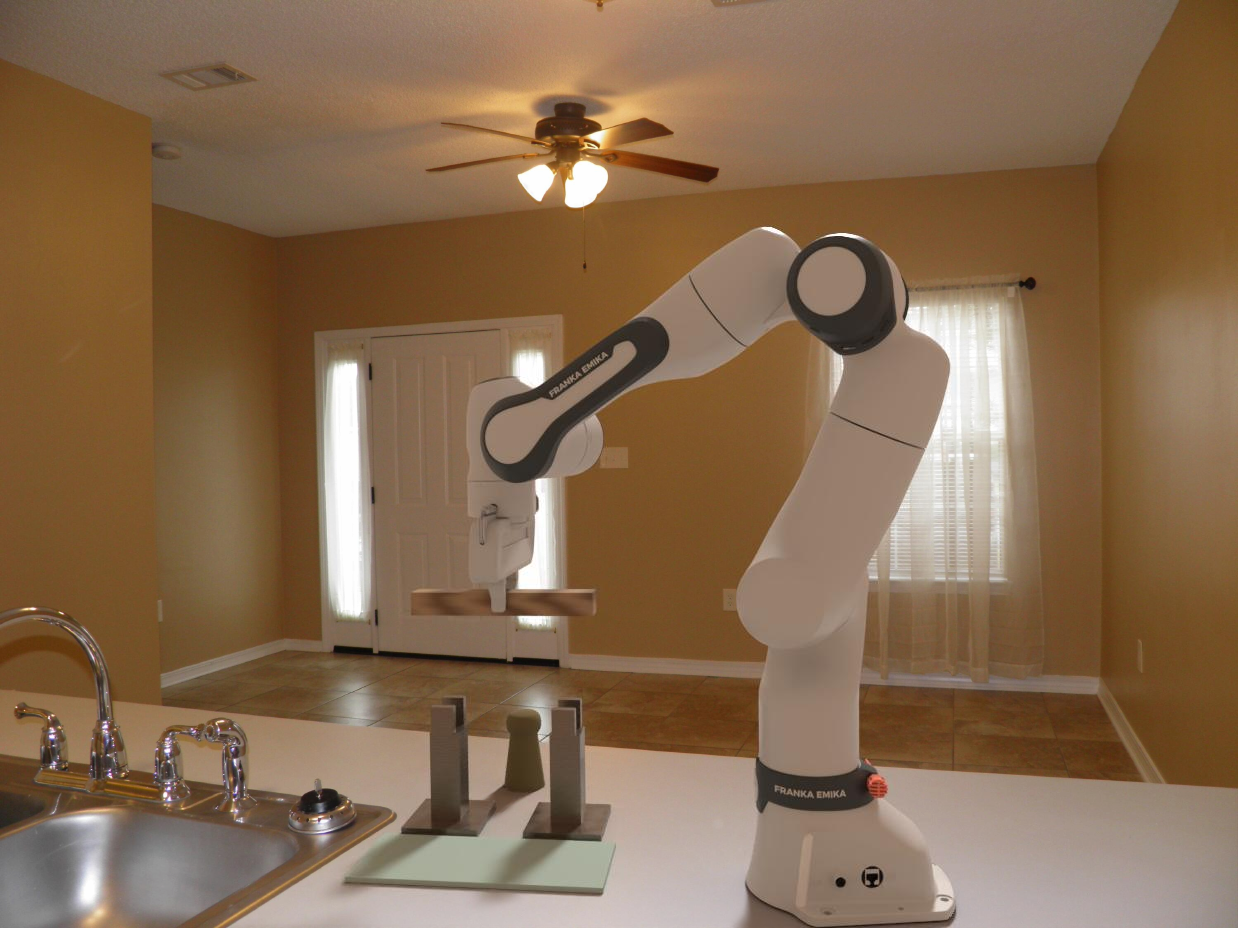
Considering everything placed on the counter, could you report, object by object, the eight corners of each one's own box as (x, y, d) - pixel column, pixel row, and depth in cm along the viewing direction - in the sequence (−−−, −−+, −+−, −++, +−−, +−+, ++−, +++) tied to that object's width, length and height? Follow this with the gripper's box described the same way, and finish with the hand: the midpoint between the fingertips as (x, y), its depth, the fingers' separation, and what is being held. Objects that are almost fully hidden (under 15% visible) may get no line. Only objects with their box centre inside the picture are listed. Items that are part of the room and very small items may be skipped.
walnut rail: (596, 612, 120) (596, 589, 120) (592, 616, 117) (592, 592, 117) (418, 611, 123) (418, 588, 123) (411, 615, 120) (410, 592, 120)
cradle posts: (610, 811, 126) (609, 694, 125) (601, 842, 116) (599, 715, 115) (426, 805, 129) (424, 690, 128) (401, 835, 119) (399, 711, 119)
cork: (525, 795, 132) (524, 718, 132) (495, 786, 136) (494, 711, 135) (553, 782, 137) (552, 709, 137) (523, 774, 140) (522, 702, 140)
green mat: (615, 846, 115) (615, 841, 115) (603, 893, 103) (602, 887, 103) (383, 837, 118) (383, 833, 118) (344, 881, 106) (344, 876, 106)
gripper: (505, 507, 109) (508, 623, 110) (541, 498, 130) (543, 596, 130) (454, 507, 110) (456, 623, 110) (497, 498, 130) (499, 596, 131)
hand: (504, 608), depth 120 cm, fingers closed on walnut rail, 3 cm apart
